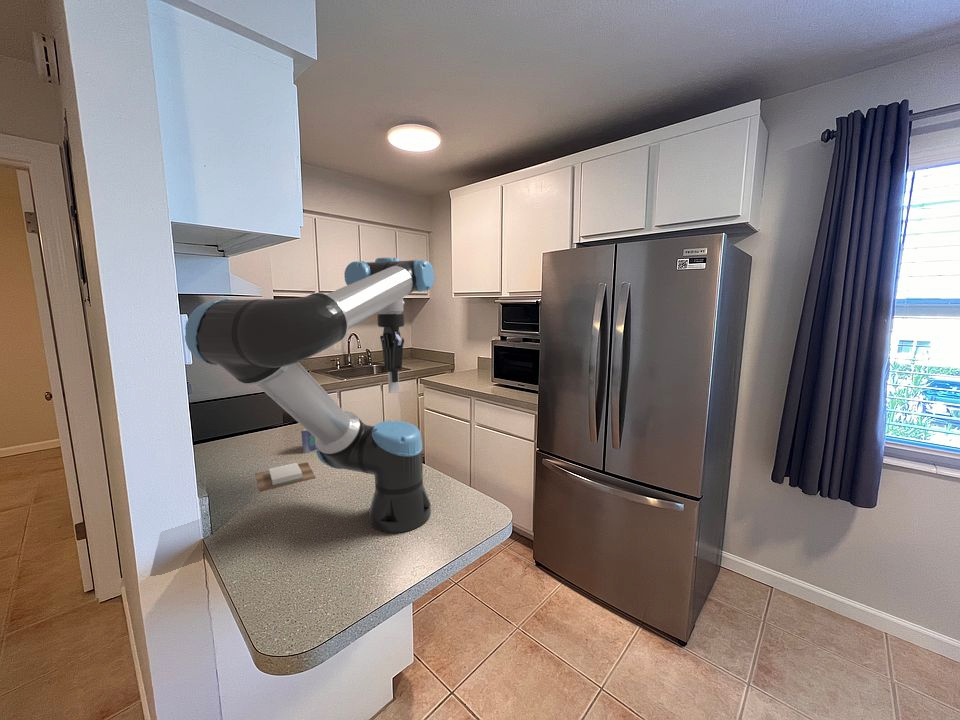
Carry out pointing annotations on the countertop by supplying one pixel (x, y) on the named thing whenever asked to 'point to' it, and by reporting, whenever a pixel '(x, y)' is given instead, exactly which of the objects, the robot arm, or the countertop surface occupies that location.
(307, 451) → the flask
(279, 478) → the tile
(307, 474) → the board
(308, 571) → the countertop surface
